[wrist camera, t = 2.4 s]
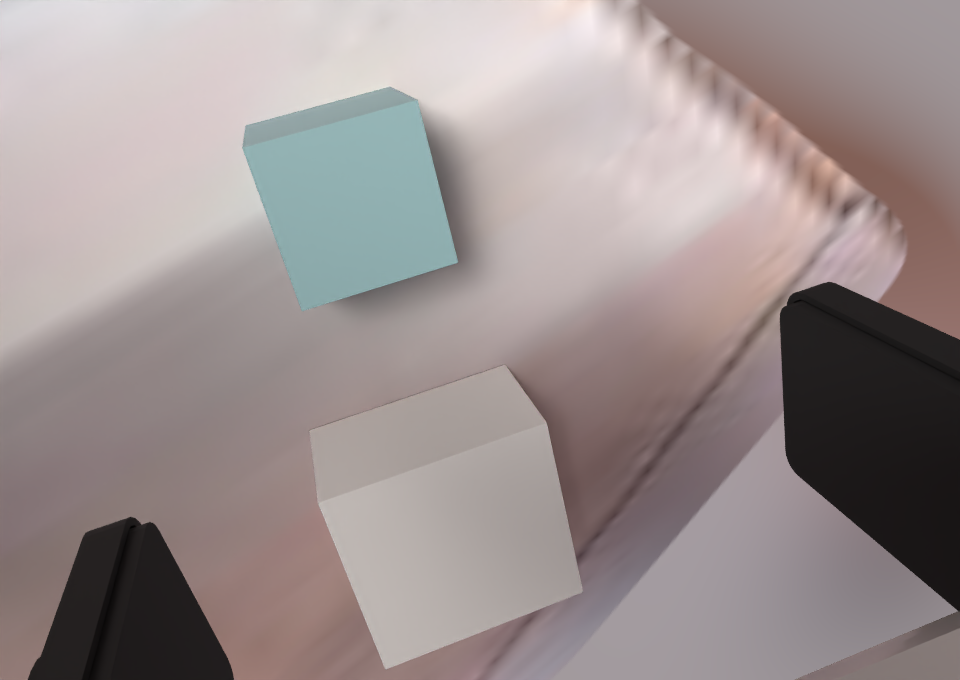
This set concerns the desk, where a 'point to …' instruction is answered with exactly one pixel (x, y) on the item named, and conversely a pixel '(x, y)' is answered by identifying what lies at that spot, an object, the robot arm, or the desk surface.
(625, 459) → the desk surface
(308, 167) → the teal cube
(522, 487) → the cream block
